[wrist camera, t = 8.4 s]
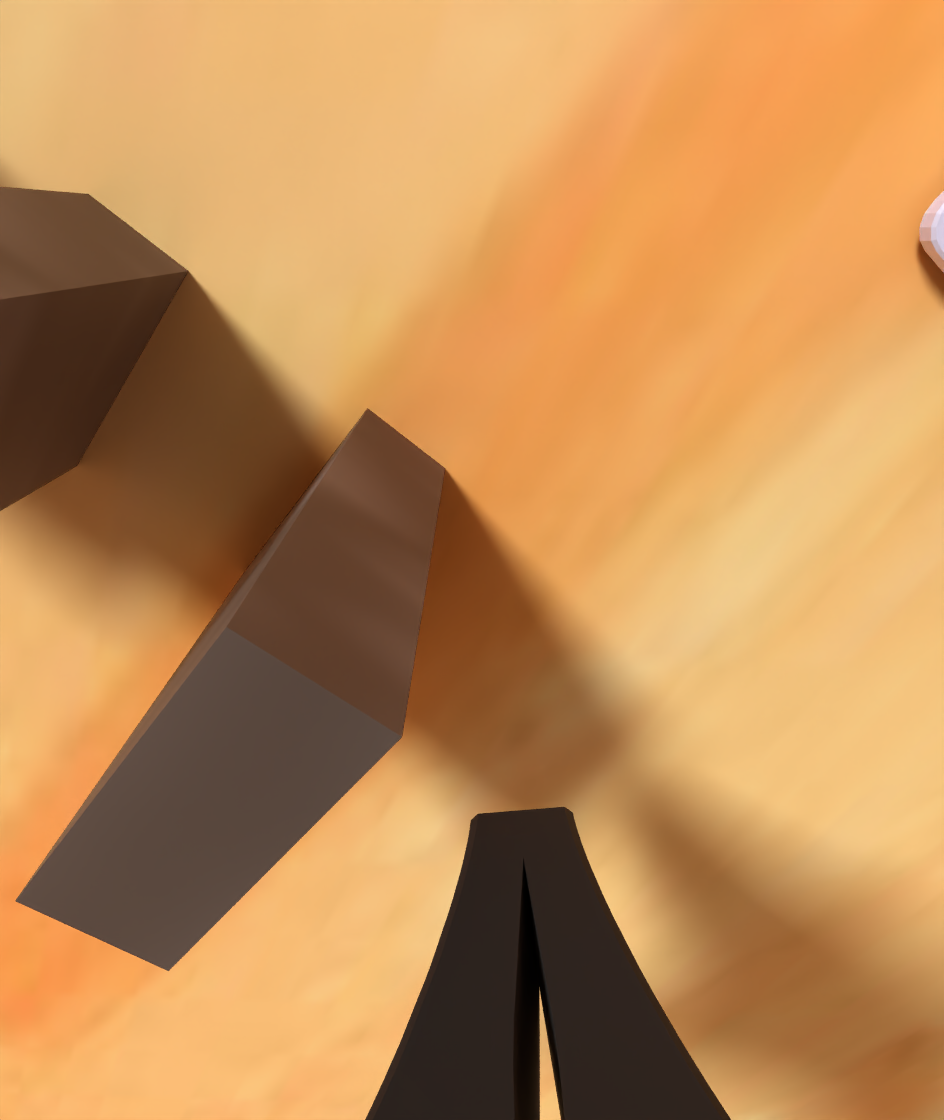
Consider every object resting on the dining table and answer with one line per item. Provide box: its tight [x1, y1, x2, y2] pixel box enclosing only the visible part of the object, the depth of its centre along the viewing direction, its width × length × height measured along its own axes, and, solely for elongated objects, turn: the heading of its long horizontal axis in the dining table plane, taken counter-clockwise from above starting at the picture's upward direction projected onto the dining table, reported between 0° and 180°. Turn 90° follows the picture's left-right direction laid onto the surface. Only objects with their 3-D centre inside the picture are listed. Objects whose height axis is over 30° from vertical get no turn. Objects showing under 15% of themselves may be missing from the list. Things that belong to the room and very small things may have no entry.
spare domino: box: [16, 408, 445, 971], centre depth 10 cm, size 2×4×8 cm, turn 140°
